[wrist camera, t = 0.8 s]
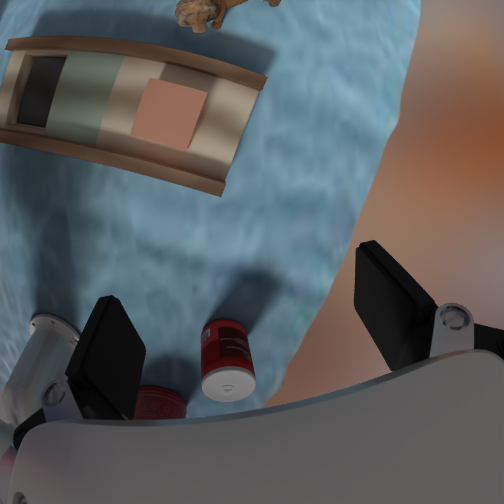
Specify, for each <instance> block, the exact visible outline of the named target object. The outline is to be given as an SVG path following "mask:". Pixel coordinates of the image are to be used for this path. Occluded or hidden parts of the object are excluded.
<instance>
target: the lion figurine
mask: <svg viewBox="0 0 504 504" xmlns="http://www.w3.org/2000/svg"><path fill="white" fill-rule="evenodd" d="M246 1H248V0H181V1H180V2H179V3H178V4H176V7H177V8H176V11H175V16H176V17H177V20H178V23H179V25H180V26H183V27H192V29H193V32H195V33H203V32H205V31H206V30H207V25H206V22H209V21H211V20H213V19H214V21H213V22H212V23H211V26H212V28H214V29H219V28H220V27H221V25H222V18H223V17H224V14H225V12H226V9H228V8H231V7H234V6H237V5H239V4H242V3H244V2H246ZM264 1H267V2H269V5H271V6H273V7H276V6H278V5H279V3H280V1H281V0H264Z"/></svg>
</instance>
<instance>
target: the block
mask: <svg viewBox="0 0 504 504" xmlns="http://www.w3.org/2000/svg"><path fill="white" fill-rule="evenodd" d="M207 98H208V93H207V92H204V91H201V90H197V89H193V88H190V87H186V86H182V85H178V84H175V83H170V82H166V81H162V80H158V79H153V78H149V80H148V82H147V85H146V88H145V90H144V93H143V96H142V99H141V102H140V104H139V107H138V110H137V113H136V116H135V119H134V123H133V126H132V129H131V132H130V135H132V136H136V137H140V138H144V139H148V140H152V141H156V142H159V143H163V144H167V145H170V146H174V147H178V148H181V149H185V150H187V149H188V148H189V147H190V144H191V141H192V138H193V136H194V133H195V130H196V127H197V124H198V122H199V119H200V116H201V114H202V111H203V108H204V106H205V103H206V101H207Z"/></svg>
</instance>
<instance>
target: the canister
mask: <svg viewBox="0 0 504 504" xmlns="http://www.w3.org/2000/svg"><path fill="white" fill-rule="evenodd" d="M186 413H187V412H186V405H185V401H184V400H183V398H182V397H181V396H180V395H178V394H177V393H175V392H173V391H171V390H169V389H165V388H162V387H156V386H143V387H139V390H138V396H137V401H136V407H135V413H134V418H133V420H167V419H183V418H186Z"/></svg>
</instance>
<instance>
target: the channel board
mask: <svg viewBox="0 0 504 504" xmlns="http://www.w3.org/2000/svg"><path fill="white" fill-rule="evenodd" d="M5 50H10V51H13V52H12V55H11V58H10V60H9V63H8V66H7V69H6V72H5V75H4V79H3V82H2V86H1V89H0V142H1V143H7V144H12V145H17V146H23V147H28V148H33V149H37V150H42V151H47V152H52V153H56V154H61V155H65V156H70V157H74V158H78V159H83V160H87V161H91V162H95V163H99V164H103V165H107V166H111V167H115V168H119V169H123V170H127V171H131V172H135V173H138V174H142V175H146V176H150V177H153V178H157V179H161V180H164V181H168V182H171V183H175V184H178V185H182V186H185V187H189V188H192V189H195V190H199V191H202V192H206V193H209V194H212V195H216V196H219V197H221V196H222V193H223V191H224V188H225V185H226V183H225V179H226V176H227V173H228V170H229V168H230V165H231V162H232V159H233V157H234V154H235V151H236V149H237V146H238V144H239V141H240V138H241V136H242V133H243V131H244V128H245V125H246V123H247V120H248V118H249V115H250V113H251V110H252V108H253V105H254V103H255V101H256V98H257V96H258V93H259V91H261V90H262V89H263V87H264V85H265V82H266V80H267V78H268V77H266V76H263V75H261V74H258V73H255V72H253V71H250V70H247V69H244V68H241V67H238V66H235V65H232V64H229V63H226V62H223V61H220V60H216V59H213V58H209V57H206V56H202V55H198V54H195V53H191V52H187V51H182V50H178V49H174V48H169V47H164V46H159V45H154V44H148V43H142V42H136V41H129V40H121V39H112V38H101V37H85V36H39V37H25V38H14V39H9V40H8V43H7V45H6V48H5ZM46 57H67V58H46ZM149 78H153V79H158V80H162V81H166V82H170V83H175V84H178V85H182V86H186V87H190V88H193V89H197V90H201V91H204V92H207V93H208V98H207V101H206V103H205V106H204V108H203V111H202V114H201V116H200V119H199V122H198V124H197V127H196V130H195V133H194V136H193V138H192V141H191V144H190V147H189V148H188V149H187V150H185V149H181V148H178V147H174V146H170V145H167V144H163V143H159V142H156V141H152V140H148V139H144V138H140V137H136V136H132V135H130V132H131V129H132V126H133V123H134V119H135V116H136V113H137V110H138V107H139V104H140V102H141V99H142V96H143V93H144V90H145V88H146V85H147V82H148V80H149ZM17 122H19V123H26V124H33V125H39V126H45V127H46V128H45V127H39V126H33V125H26V124H19V123H17Z"/></svg>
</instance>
